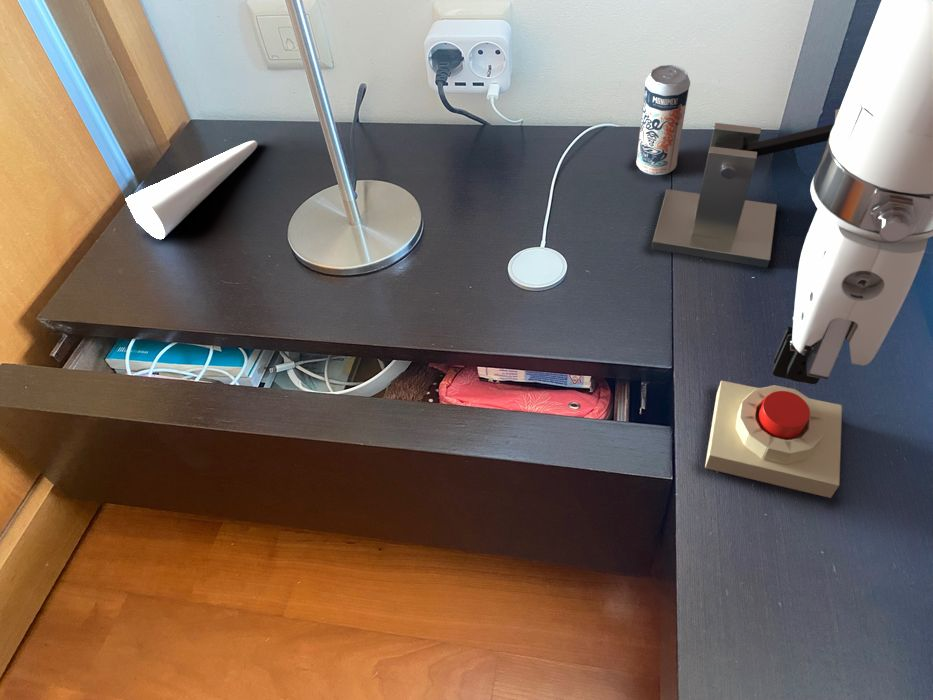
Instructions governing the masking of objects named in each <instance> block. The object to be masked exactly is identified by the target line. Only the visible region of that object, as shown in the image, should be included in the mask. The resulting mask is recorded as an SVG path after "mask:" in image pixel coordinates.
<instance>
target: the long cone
mask: <svg viewBox="0 0 933 700" xmlns="http://www.w3.org/2000/svg"><path fill="white" fill-rule="evenodd" d="M257 147H258V142H257V141H256V140H250V141H247V142H244V143H242V144H240V145H237V146H235V147H233V148H230V149H229V150H226V151H225V152H223V153H219V154H218V155H216V156H214V157H212V158H209V159H207V160H205V161H203V162H201V163H199V164H196V165H194V166H192V167H190V168H187V169H186V170H183V171H181V172H179V173H177V174H175V175H172V176H170V177H168V178H166V179H163V180H161V181H160V182H158V183H155V184H153V185H150V186H148V187H146V188H144V189H141V190H139V191H138V192H136V193H135V192H134V194H131V195H129V196H128V197H126V198H125V201H126V203H127V206H128V208H129V209H130V212H131V214H132V216H133V218H134V219H135V221H136V223H137V224H139V225H140V226H141V228H143V229H144V230H145V231H146V232H147V233H148V234H149V235H150V236H152V237H154V238H156V239H159V240H162V239H163V240H164V238H165V237H167V236H168V234H170V233H171V232H172V231H173V230H174V229H175V228H176V227H177V226H178V225H179V224H181V222H182V221H183V220H184V219H185V218H186V217H187V216H188V215H190V213H192V212H193V210H195V209H196V208H197V207H198V206H199V205H200V204H201V203H202V202H203V201H204V200H205V199H206V198H207V197H208V196H209V195H210V194H211V193H212V192H214V190H215V189H216V188H217V187H218V186H220V184H222V183H223V182H224V181H225V180H226V179H227V178H228V177H229V176H230V175H231V174H232V173H233V172H234V171H235V170H236V169H237V168H238V167H240V165H241V164H243V163H244V161H246V160H247V159H248V158H249V157H250V156H251V155H252V154H253V152H254V151H256V149H257Z"/></svg>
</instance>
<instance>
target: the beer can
mask: <svg viewBox="0 0 933 700" xmlns="http://www.w3.org/2000/svg"><path fill="white" fill-rule="evenodd" d="M690 87H691V80H690V77H689V75H688V72H687V71H686V70H685V69H684V68H683V67H681V66H677V65H673V64H667V65H666V64H664V65H659V66H657V67H655V68H653V69H652V70H651V71H650V73H649V74H648V76H647V78H646V79H645V82H644V93H643V102H642V109H641V110H642V111H641V119H640V127H639V136H638V146H637V153H636V161H635V162H636V163H635V164H636V166H637V167H638V169H639V170H640V171H642V172H643V173H644V174H647V175H651V176H660V175H661V176H662V175H663V176H664V175H667V174H669V173H671V172H672V171H674V170H675V169H676V167H677V165H678V156H679V150H680V146H681V145H680V144H681V140H682V139H681V138H682V133H683V132H682V131H683V125H684V121H685V114H686V108H687V102H688V98H689V97H688V96H689V90H690Z"/></svg>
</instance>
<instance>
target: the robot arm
mask: <svg viewBox="0 0 933 700" xmlns="http://www.w3.org/2000/svg"><path fill="white" fill-rule="evenodd" d="M839 109H840V110H839V112H838V115H837V118H836V121H835V120H834V123H833V124H834V125H833V128H832V131H831V133H830V136H829V138H828V141H826V144H825V146H824V149H823V152H822V154H821V156H820V159H819V162H818V164H817V167H816V170H815V172H814V175H813V178H812V180H811V183H810V189H809V191H810V195H811V199H812V202H813V203H814V205H815V207H816V208H817V209H816V211H815V214H814V216H813V219H812V222H811V224H810V225H809V228H808V230H807V234H806V236H805V239H804V243H803V246H802V249H801V252H800V257H799V262H798V269H797V278H796V286H795V295H794V297H795V298H794V310H793V316H792V320H791V326H787V327H786V330H785V332H784V335H783V337H782V339H781V341H780V343H779V346H778V348H777V350H776V352H775V355H774V358H773V364H774V365H773V368H772V375H773V376H774V377H777V378H782V379H786V380H790V381H793V382H798V383H804V384H810V385H817V384H818V383H819V381H820V379H822V380H826V381H827V380H828V379H829V378H830V375H831V373H832V371H833V368H834V366H835V363H836V361H837V359H838V356H839V354H840V352H841V350H842V347H843V344H844V343H845V340H847V341H848V347H849V354H850V363H851V365H857V366H861V367H865V366H867V365H868V364H870V363H871V362H872V361H873V360H874V359H875V357H876V355H877V354H878V352H879V351H880V349H881V347H882V345H883V343H884V341H885V339H886V337H887V335H888V333H889V331H890V329H891V328H892V325H893V324H894V322H895V320H896V319H897V316H898V314H899V312H900V310H901V308H902V306H903V304H904V302H905V300H906V298H907V296H908V294H909V291H910V289H911V288H912V285H913V283H914V280H915V278H916V275H917V274H918V271H919V268H920V266H921V263H922V260H923V259H924V258H923V257H924V255H925V252H926V249H927V245H928V241H929V238H932V237H933V0H881V1H880V3H879V6H878V9H877V12H876V14H875V17H874V19H873V22H872V24H871V27H870V29H869V32H868V35H867V37H866V40H865V43H864V45H863V48H862V51H861V53H860V56H859V58H858V60H857V63H856V66H855V68H854V71H853V73H852V77H851V78H850V82H849V84H848V87H847V89H846V92H845V95H844V97H843V100H842V102H841V105H840V107H839Z"/></svg>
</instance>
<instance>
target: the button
mask: <svg viewBox="0 0 933 700" xmlns="http://www.w3.org/2000/svg"><path fill="white" fill-rule="evenodd" d="M809 417H810V410H809V407H808V405H807V403H806V402H805V401H804V400H803V399H802V398H801V397H800V396H798V395H796V394H794V393H791V392H788V391H776V392H773V393H771V394H769V395H768V396H767V397H766V398H765V399H764V401H763V404H762V406H761V409H760V411H759V414H758V419H759V423H760V425H761V426H762V428H763V429H764V430H765V431H766V432H767V433H769V434H770V435H772V436H774V437H777V438H782V439H790V438H794V437H796V436H798V435H799V434H800V433H801V432H802V431H803V429H804V427H805V425H806V423H807V421H808V419H809Z"/></svg>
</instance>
